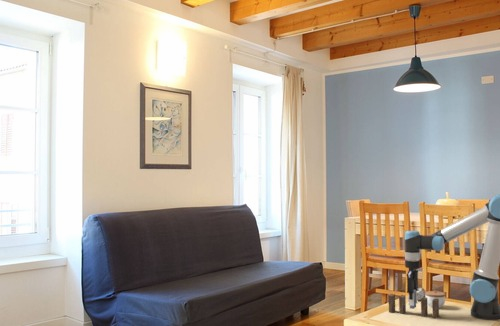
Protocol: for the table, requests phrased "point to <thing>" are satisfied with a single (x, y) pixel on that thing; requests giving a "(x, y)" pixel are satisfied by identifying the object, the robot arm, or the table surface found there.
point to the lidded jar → (435, 297)
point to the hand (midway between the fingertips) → (412, 304)
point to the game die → (420, 294)
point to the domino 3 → (414, 300)
